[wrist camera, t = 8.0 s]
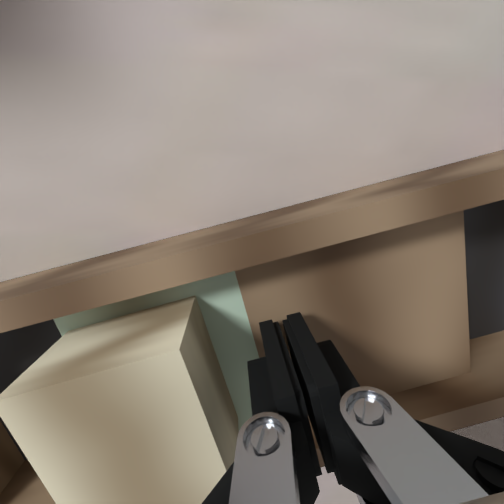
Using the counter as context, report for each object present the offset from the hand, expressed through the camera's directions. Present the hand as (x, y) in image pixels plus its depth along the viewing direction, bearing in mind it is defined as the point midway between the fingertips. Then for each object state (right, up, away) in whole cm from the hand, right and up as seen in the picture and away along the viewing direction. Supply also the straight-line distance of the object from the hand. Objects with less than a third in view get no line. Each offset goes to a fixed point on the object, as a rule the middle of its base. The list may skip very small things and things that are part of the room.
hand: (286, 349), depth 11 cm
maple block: (-5, -1, +1) cm, 5 cm away
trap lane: (0, +1, +3) cm, 3 cm away
